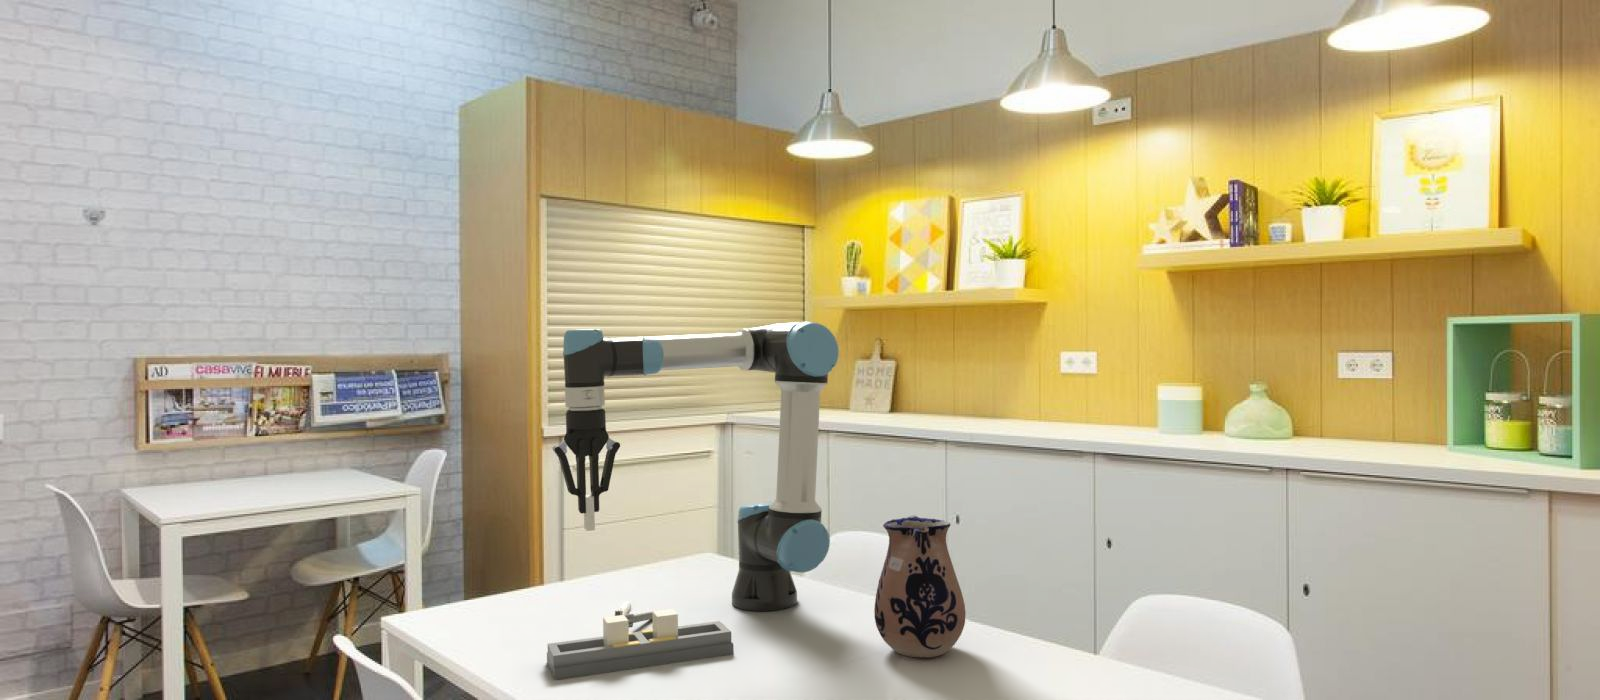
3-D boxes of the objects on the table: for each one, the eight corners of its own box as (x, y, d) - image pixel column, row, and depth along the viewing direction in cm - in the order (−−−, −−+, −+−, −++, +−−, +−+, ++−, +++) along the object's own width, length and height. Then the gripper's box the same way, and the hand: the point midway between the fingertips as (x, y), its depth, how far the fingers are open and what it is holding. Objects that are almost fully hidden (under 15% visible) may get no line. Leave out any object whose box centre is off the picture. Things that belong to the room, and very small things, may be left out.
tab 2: (672, 639, 188) (672, 608, 188) (678, 645, 184) (677, 614, 184) (652, 641, 186) (652, 611, 186) (657, 647, 183) (657, 616, 183)
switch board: (717, 638, 195) (717, 618, 195) (733, 653, 185) (733, 632, 185) (546, 662, 182) (546, 640, 181) (554, 680, 172) (554, 656, 172)
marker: (623, 607, 219) (623, 597, 219) (633, 607, 219) (632, 597, 219) (607, 631, 201) (607, 620, 201) (617, 631, 201) (617, 620, 201)
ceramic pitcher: (887, 669, 176) (885, 534, 175) (862, 634, 196) (860, 513, 196) (978, 663, 178) (977, 529, 178) (944, 629, 199) (942, 509, 199)
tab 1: (624, 645, 184) (623, 614, 184) (628, 652, 180) (628, 620, 180) (603, 648, 183) (603, 617, 183) (607, 654, 179) (607, 623, 179)
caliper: (616, 644, 193) (616, 613, 193) (612, 643, 193) (611, 612, 193) (662, 615, 212) (662, 587, 212) (658, 615, 213) (658, 587, 213)
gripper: (554, 411, 179) (559, 536, 180) (623, 407, 185) (627, 528, 185) (547, 409, 186) (552, 529, 187) (614, 405, 191) (618, 522, 192)
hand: (589, 529), depth 186 cm, fingers closed
